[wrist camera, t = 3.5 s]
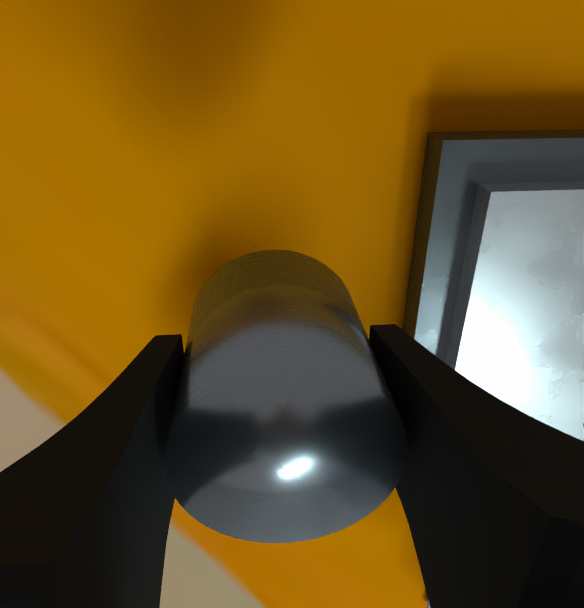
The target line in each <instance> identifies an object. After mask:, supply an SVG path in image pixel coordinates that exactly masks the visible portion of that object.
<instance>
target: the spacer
mask: <svg viewBox="0 0 584 608" xmlns="http://www.w3.org/2000/svg"><path fill="white" fill-rule="evenodd" d="M407 452H408V442H407V434H406V431H405V428H404V424H403V422H402V419H401V417H400V414H399V412H398V410H397V407H396V405H395V402H394V400H393V398H392V395H391V393H390V390H389V388H388V385H387V383H386V381H385V378H384V376H383V373H382V371H381V369H380V366H379V364H378V361H377V359H376V356H375V354H374V352H373V349H372V347H371V344H370V342H369V340H368V337H367V335H366V332H365V330H364V327H363V325H362V323H361V320H360V318H359V315H358V313H357V311H356V308H355V306H354V303H353V301H352V298H351V296H350V294H349V292H348V290H347V288H346V286H345V285H344V283H343V282H342V280H341V279H340V278H339V277H338V276H337V275H336V273H335V272H334V271H332V270H331V269H330V268H329V267H327V266H326V265H325V264H323V263H321V262H320V261H318V260H316V259H314V258H312V257H309V256H307V255H304V254H300V253H297V252H292V251H285V250H267V251H259V252H255V253H250V254H247V255H244V256H242V257H239V258H237V259H235V260H233V261H231V262H229V263H227V264H226V265H224V266H223V267H221V268H220V269H219V270H218V271H216V272H215V273H214V274H213V275H212V276H211V277H210V278H209V279H208V281H207V282H206V283H205V284H204V286H203V287H202V289H201V290H200V292H199V294H198V296H197V299H196V301H195V304H194V308H193V311H192V317H191V322H190V327H189V332H188V337H187V343H186V348H185V353H184V358H183V363H182V368H181V374H180V379H179V384H178V389H177V394H176V400H175V405H174V410H173V415H172V420H171V425H170V431H169V436H168V441H167V446H166V452H165V473H166V477H167V481H168V484H169V487H170V489H171V491H172V493H173V495H174V497H175V498H176V499H177V501H178V502H179V504H180V505H181V506H182V507H183V508H184V509H185V510H186V511H187V512H188V513H189V514H190V515H191V516H192V517H194V518H195V519H196V520H197V521H199V522H200V523H202V524H204V525H205V526H207V527H209V528H211V529H213V530H215V531H217V532H220V533H222V534H225V535H228V536H231V537H234V538H238V539H243V540H247V541H254V542H262V543H289V542H298V541H305V540H310V539H314V538H319V537H322V536H325V535H329V534H332V533H334V532H337V531H339V530H342V529H344V528H346V527H348V526H350V525H352V524H354V523H356V522H358V521H359V520H361V519H362V518H364V517H365V516H367V515H368V514H370V513H371V512H372V511H373V510H375V509H376V508H377V507H378V506H379V505H380V504H381V503H382V502H383V501H384V500H385V499H386V498H387V497H388V496H389V495H390V493H391V492H392V491H393V490H394V488H395V486H396V485H397V483H398V481H399V480H400V478H401V475H402V473H403V471H404V468H405V464H406V460H407Z"/></svg>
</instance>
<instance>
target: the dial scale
mask: <svg viewBox="0 0 584 608" xmlns="http://www.w3.org/2000/svg"><path fill="white" fill-rule="evenodd" d="M403 331H405V332H406V333H407V334H409V335H410V336H411V337H412V338H414V339H415V340H416V341H417V342H419V343H420V344H421V345H422V346H424V347H425V348H426V349H428V350H429V351H430V352H431V353H433V354H434V355H435V356H437V357H438V358H439V359H441V360H442V361H443V362H444V363H446V364H447V365H449V366H450V367H451V368H453V369H454V370H455V371H457V372H458V373H460V374H461V375H463V376H464V377H465V378H467V379H468V380H470V381H471V382H473V383H474V384H476V385H478V386H479V387H481V388H482V389H484V390H485V391H487V392H488V393H490V394H492V395H493V396H495V397H496V398H498V399H500V400H502V401H503V402H505V403H507V404H509V405H511V406H512V407H514V408H516V409H518V410H520V411H521V412H523V413H525V414H527V415H529V416H531V417H533V418H535V419H537V420H539V421H541V422H543V423H545V424H547V425H549V426H551V427H553V428H556V429H558V430H560V431H562V432H564V433H566V434H568V435H571V436H573V437H575V438H577V439H580V440H582V441H584V130H553V131H494V132H435V133H428V138H427V146H426V154H425V161H424V169H423V177H422V184H421V192H420V200H419V207H418V215H417V223H416V231H415V238H414V246H413V254H412V261H411V269H410V277H409V284H408V292H407V300H406V307H405V315H404V323H403Z"/></svg>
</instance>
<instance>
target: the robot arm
mask: <svg viewBox="0 0 584 608" xmlns="http://www.w3.org/2000/svg"><path fill="white" fill-rule="evenodd" d="M369 342H370V344H371V347H372V349H373V352H374V354H375V356H376V359H377V361H378V364H379V366H380V369H381V371H382V373H383V376H384V378H385V381H386V383H387V385H388V388H389V390H390V393H391V395H392V398H393V400H394V402H395V405H396V407H397V410H398V412H399V414H400V417H401V419H402V422H403V424H404V428H405V431H406V434H407V442H408V452H407V460H406V464H405V468H404V471H403V473H402V475H401V478H400V480H399V481H398V483H397V485H396V486H395V487H396V490H397V492H398V495H399V497H400V500H401V503H402V505H403V508H404V511H405V514H406V517H407V520H408V523H409V527H410V531H411V534H412V538H413V542H414V546H415V549H416V553H417V557H418V560H419V564H420V568H421V572H422V576H423V580H424V584H425V588H426V592H427V596H428V601H427V608H584V441H582V440H580V439H577V438H575V437H573V436H571V435H568V434H566V433H564V432H562V431H560V430H558V429H556V428H553V427H551V426H549V425H547V424H545V423H543V422H541V421H539V420H537V419H535V418H533V417H531V416H529V415H527V414H525V413H523V412H521V411H520V410H518V409H516V408H514V407H512V406H511V405H509V404H507V403H505V402H503V401H502V400H500V399H498V398H496V397H495V396H493V395H492V394H490V393H488V392H487V391H485V390H484V389H482V388H481V387H479V386H478V385H476V384H474V383H473V382H471V381H470V380H468V379H467V378H465V377H464V376H463V375H461V374H460V373H458V372H457V371H455V370H454V369H453V368H451V367H450V366H449V365H447V364H446V363H444V362H443V361H442V360H441V359H439V358H438V357H437V356H435V355H434V354H433V353H431V352H430V351H429V350H428V349H426V348H425V347H424V346H422V345H421V344H420V343H419V342H417V341H416V340H415V339H414V338H412V337H411V336H410V335H409V334H407V333H406V332H405V331H403V330H402V329H401V328H399V327H398V326H397V325H395V324H390V325H370V336H369ZM183 358H184V350H183V342H182V335H181V334H178V335H157V336H155V337H154V338H153V339H152V340H151V341H150V342H149V343H148V344H147V345H146V346H145V347H144V349H143V350H142V351H141V352H140V353H139V354H138V355H137V356H136V358H135V359H134V360H133V361H132V362H131V363H130V364H129V365H128V366H127V368H126V369H125V370H124V371H123V372H122V373H121V374H120V375H119V376H118V377H117V378H116V379H115V380H114V381H113V382H112V383H111V384H110V385H109V387H108V388H107V389H106V390H105V391H104V392H103V393H101V394H100V395H99V396H98V397H97V398H96V399H95V400H94V401H93V402H92V403H91V404H90V405H89V406H88V407H87V408H86V409H85V410H83V411H82V412H81V413H80V414H79V415H78V416H77V417H75V418H74V419H73V420H72V421H71V422H69V423H68V424H67V425H66V426H65V427H63V428H62V429H61V430H59V431H58V432H57V433H56V434H54V435H53V436H52V437H50V438H49V439H48V440H47V441H45V442H44V443H43V444H41V445H40V446H39V447H37V448H35V449H34V450H33V451H31V452H30V453H28V454H27V455H25V456H24V457H22V458H21V459H19V460H18V461H16V462H15V463H13V464H12V465H10V466H9V467H7V468H6V469H4V470H3V471H2V472H0V608H159V605H160V595H161V585H162V576H163V567H164V558H165V549H166V541H167V535H168V529H169V523H170V518H171V514H172V509H173V504H174V500H175V497H174V495H173V493H172V491H171V489H170V487H169V484H168V481H167V477H166V473H165V452H166V446H167V441H168V436H169V431H170V425H171V420H172V415H173V410H174V405H175V400H176V394H177V389H178V384H179V379H180V374H181V368H182V363H183Z"/></svg>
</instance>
